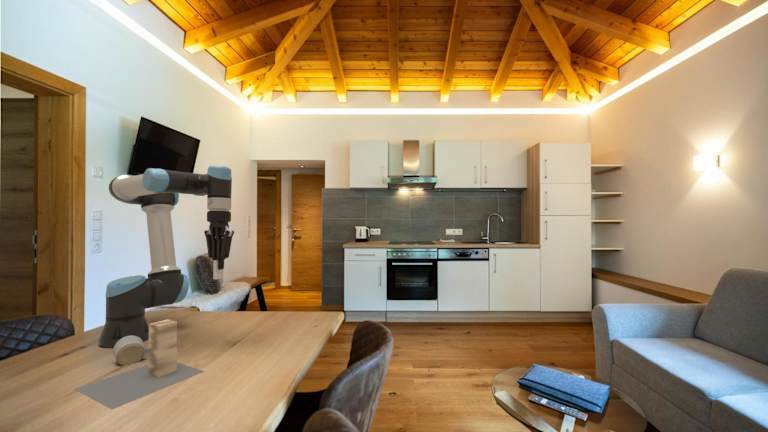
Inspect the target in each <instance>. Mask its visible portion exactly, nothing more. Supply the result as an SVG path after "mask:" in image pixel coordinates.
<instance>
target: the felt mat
mask: <svg viewBox="0 0 768 432" xmlns="http://www.w3.org/2000/svg"><path fill="white" fill-rule="evenodd" d="M204 372H205V370H202V369H198V368H196V367H193V366H189V365H187V364H184V363H180V362H178V361H177V371H175V372H172V373H170V374H167V375H164V376H162V377H159V378H157V377H155V376H152V375H149V374H148V363H147V364H145V365H144V364H143V365H142V366H139V367H136V368H133V369H130V370H129V369H128V370H126V371H123V372H121V373H118V374H114V375H112V376H109V377H106V378H102V379H100V380H97V381H93V382H90V383H88V384H85V385H82V386H79V387H75V388H74V391H77V392H78V393H80V394H83V395H84V396H86V397H88V398H90V399H92V400H94V401H96V402H98V403H99V404H101V405H103V406H105V407H107V408H108V409H111V410H114V409H117V408H119V407H122V406H123V405H126V404H129V403H131V402H133V401H136V400H138V399H141V398H143V397H147V396H149V395H151V394H153V393H156V392H158V391H161V390H163V389H165V388H168V387H171V386H172V385H175V384H177V383H179V382H182V381H185V380H187V379H190V378H192V377H195V376H197V375H199V374H202V373H204Z"/></svg>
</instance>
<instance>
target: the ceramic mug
mask: <svg viewBox="0 0 768 432" xmlns="http://www.w3.org/2000/svg"><path fill="white" fill-rule="evenodd" d="M113 355H114V359H115V361H116V363H117V364H119V365H120V366H127V365H131V364H135V363H139V362H141V361H142V360H148V355H149V348H146V347H145V343H144V341H142V339H141V338H139V337H138V336H134V335H130V336H126V337H123V338H121V339H120V340H119V341H118V342H117V343H116V344H115V346H114V347H113Z"/></svg>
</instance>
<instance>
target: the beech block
mask: <svg viewBox="0 0 768 432" xmlns="http://www.w3.org/2000/svg"><path fill="white" fill-rule="evenodd" d="M148 326H149V338H148V349H149V355H148V359H147V360H148V363H147V364H148V374H149V375H152V376H155V377H157V378H159V377H162V376H164V375H167V374H170V373H172V372H175V371H177V362H178V321H176V320H173V319H172V320H171V319H164V320H159V321H156V322H150V323H148Z"/></svg>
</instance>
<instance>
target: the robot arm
mask: <svg viewBox="0 0 768 432" xmlns="http://www.w3.org/2000/svg"><path fill="white" fill-rule="evenodd" d="M232 180H233V177H232V169H231V168H230V167H229V166H225V165H216V164H215V165H209V166H208V167H207V172H206V173H205V174H204V173H202V174H201V173H193V172H187V171H178V170H170V169H162V168H152V167H150V168H149V167H148V168H146V169H145V171H144V172H143V174H137V175H130V174H129V175H127V174H123V175H119V176H116V177H114V178H113V179H111V181H110V182H109V184H108V191H109V194H110V195H111V196H112V197H113V198H114V199H115V200H117V201H119V202H120V203H123V204H130V205H140V207H141V208H140V209H141V211H142V212H143V213H145V214H146V215H145V216H146V225H147V234H148V235H147V236H148V244H149V245H148V246H149V256H150V266H151V267H150V268H151V269H150V271H149V272H148V273H147V277H146V276H145V275H142V274H137V275H133V276H125V277H121V278H117V279H114V280H111V281H110V282H108V284H107V285H106V291H105V294H104V295H105V323H104V326H103V328H102V330H101V333H100V336H99V339H98V346H99V345H100V346H103V347H102V348H114V346H115V344H116V343H117V342H118V341H119V340H120V339H121V338H123V337H126V336H130V335H134V336H138V337H139V338H141V339H142V341H143V342H144V341H146V340H149V323H148V322H147V319H146V309H150V308H156V307H157V308H158V307H162V306H167V305H170V306H171V305H174V304H177V303H181V302H182V301H183V300H184V299H186V298H187V295H188V293H189V287H190V282H189V278H188V275H186V274H184V273H182V268H179V266H177V261H176V252H175V242H174V233H173V223H172V222H173V221H172V213H171V212H172V211H173V210H174V209H175V206H176V205H178V203H179V198H180V194H181V195H182V194H185V195H193V196H198V197H203V196H206V199H207V201H206V202H207V204H206V207H207V212H206V221H207V222H209V227H208V229H207V230H204V233H203V234H204V237H205V240H206V248H207V256H208V259H209V258H210V259H211V260H212V269H213V273H212V275H213V276H212V279H213V280H221V279H224V269H225V260H226V259H228V258H230V257H229V256H230V251H231V247H232V246H231V245H232V241H233V236H234V234H235V231H234V230H231V229H230V225H229V223H230V222H231V221H232V212H231V210H232V185H233V181H232ZM100 346H99V347H100Z"/></svg>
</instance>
